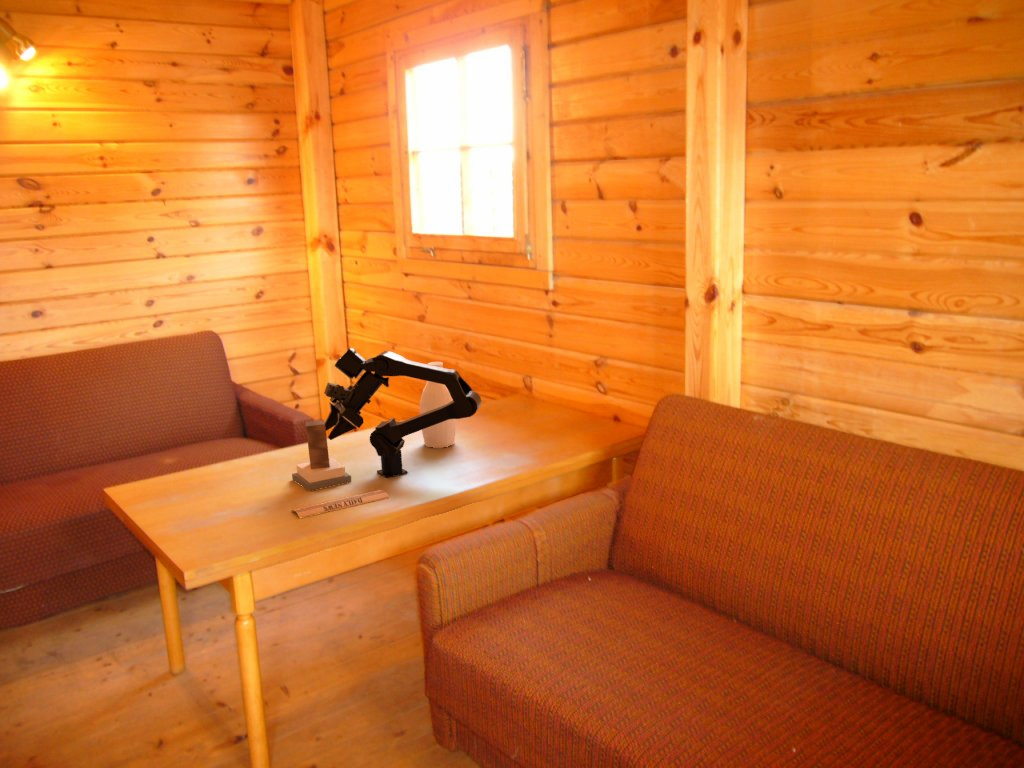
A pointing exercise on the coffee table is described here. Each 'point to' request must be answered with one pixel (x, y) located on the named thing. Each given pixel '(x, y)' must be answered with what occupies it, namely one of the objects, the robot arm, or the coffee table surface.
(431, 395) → the bottle
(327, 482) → the tower base slab
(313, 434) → the walnut block
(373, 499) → the newspaper
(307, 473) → the tower top slab
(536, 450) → the coffee table surface
